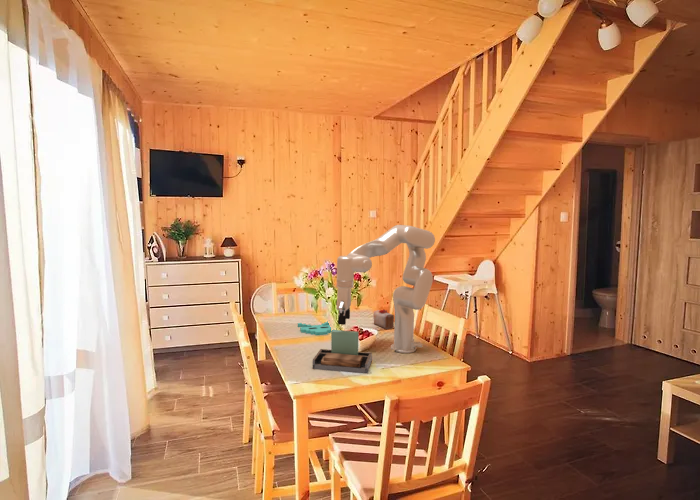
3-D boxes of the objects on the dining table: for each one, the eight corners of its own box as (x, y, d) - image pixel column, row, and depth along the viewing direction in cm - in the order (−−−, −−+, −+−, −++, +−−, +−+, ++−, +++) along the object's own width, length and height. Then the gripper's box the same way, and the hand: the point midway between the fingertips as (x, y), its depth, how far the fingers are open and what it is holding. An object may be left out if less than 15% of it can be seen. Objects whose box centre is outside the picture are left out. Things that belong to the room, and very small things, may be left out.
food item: (371, 324, 258) (371, 308, 256) (381, 322, 262) (382, 306, 261) (385, 330, 246) (385, 313, 245) (396, 327, 250) (396, 311, 249)
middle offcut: (358, 361, 191) (359, 358, 190) (357, 366, 185) (357, 363, 185) (323, 359, 193) (323, 356, 193) (320, 364, 187) (320, 361, 187)
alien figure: (297, 326, 252) (303, 337, 233) (297, 323, 252) (303, 333, 233) (330, 324, 258) (339, 334, 239) (330, 320, 258) (339, 330, 238)
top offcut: (362, 359, 189) (362, 355, 189) (359, 364, 184) (359, 360, 183) (327, 356, 193) (327, 352, 193) (323, 360, 187) (323, 357, 187)
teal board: (358, 361, 195) (358, 331, 194) (357, 363, 193) (357, 333, 191) (332, 359, 197) (332, 329, 196) (331, 361, 195) (331, 331, 193)
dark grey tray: (371, 363, 196) (371, 352, 195) (367, 375, 182) (367, 364, 181) (320, 359, 200) (320, 349, 200) (312, 371, 186) (312, 359, 186)
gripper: (340, 280, 200) (339, 315, 202) (332, 286, 183) (331, 326, 185) (356, 280, 199) (355, 317, 200) (349, 287, 182) (348, 327, 184)
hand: (344, 321), depth 193 cm, fingers open, 9 cm apart
